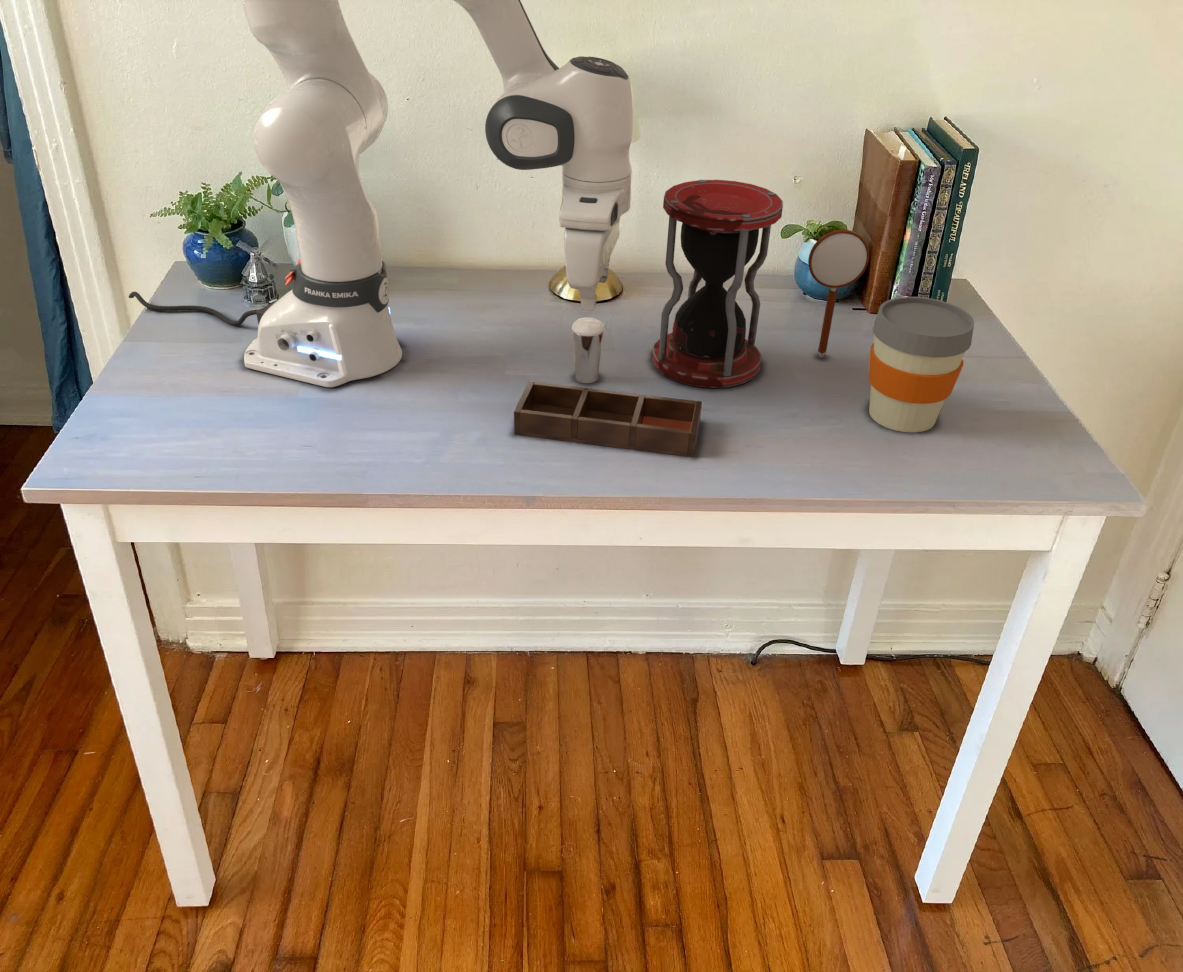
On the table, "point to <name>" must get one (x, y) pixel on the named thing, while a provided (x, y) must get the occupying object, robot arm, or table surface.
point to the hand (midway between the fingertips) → (594, 294)
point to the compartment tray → (608, 418)
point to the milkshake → (587, 348)
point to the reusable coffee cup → (915, 360)
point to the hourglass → (714, 281)
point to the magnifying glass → (836, 269)
